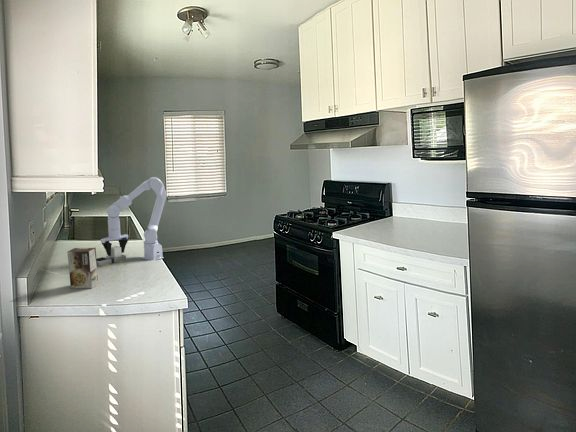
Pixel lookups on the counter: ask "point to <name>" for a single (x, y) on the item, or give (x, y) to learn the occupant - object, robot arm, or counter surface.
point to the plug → (116, 251)
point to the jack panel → (109, 260)
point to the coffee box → (82, 267)
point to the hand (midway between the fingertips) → (115, 254)
